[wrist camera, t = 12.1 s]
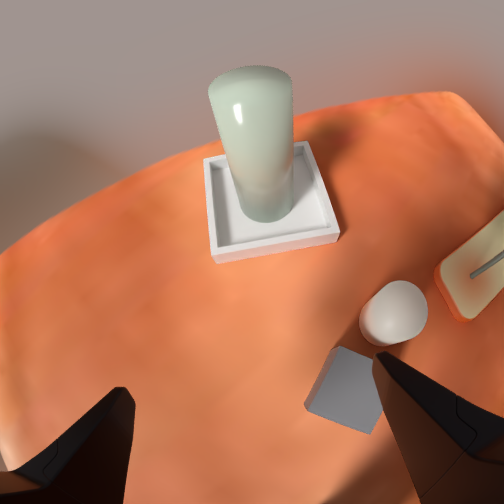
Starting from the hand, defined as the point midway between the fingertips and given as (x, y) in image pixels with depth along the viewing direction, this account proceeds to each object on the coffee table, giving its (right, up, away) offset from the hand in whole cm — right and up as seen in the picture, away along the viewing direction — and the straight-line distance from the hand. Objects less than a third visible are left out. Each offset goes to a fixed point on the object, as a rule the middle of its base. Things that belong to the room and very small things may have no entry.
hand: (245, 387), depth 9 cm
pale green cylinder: (+2, +10, +18) cm, 21 cm away
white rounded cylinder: (+11, -1, +13) cm, 17 cm away
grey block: (+8, -6, +11) cm, 15 cm away
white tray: (+2, +9, +19) cm, 21 cm away
